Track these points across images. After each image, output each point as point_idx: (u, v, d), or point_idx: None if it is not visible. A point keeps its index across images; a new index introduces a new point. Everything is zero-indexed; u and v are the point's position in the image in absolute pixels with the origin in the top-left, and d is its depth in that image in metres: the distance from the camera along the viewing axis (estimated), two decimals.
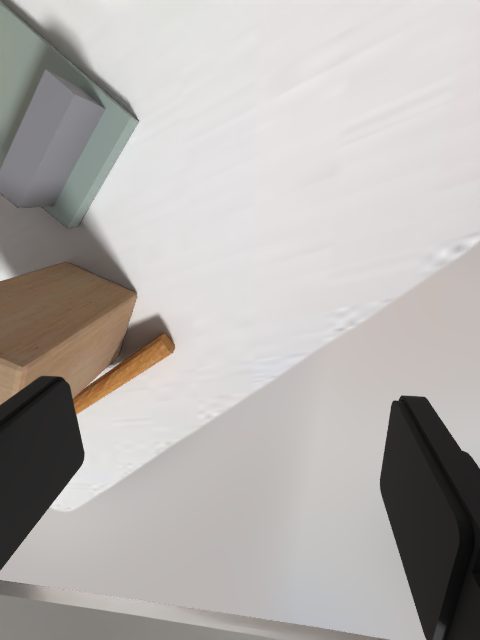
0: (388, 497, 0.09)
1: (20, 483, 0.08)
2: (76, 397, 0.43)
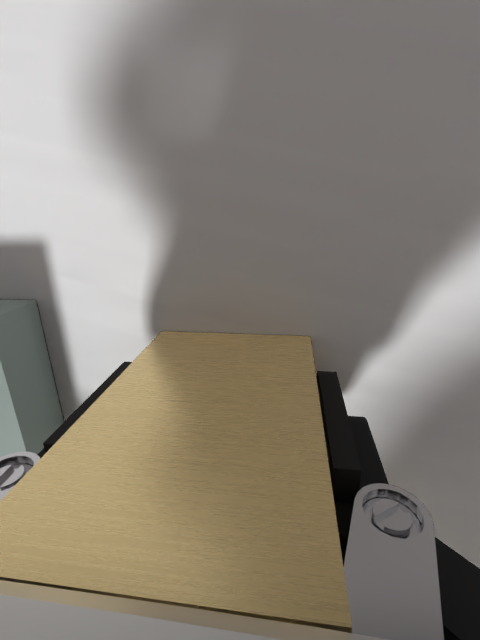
0: None
1: None
2: None
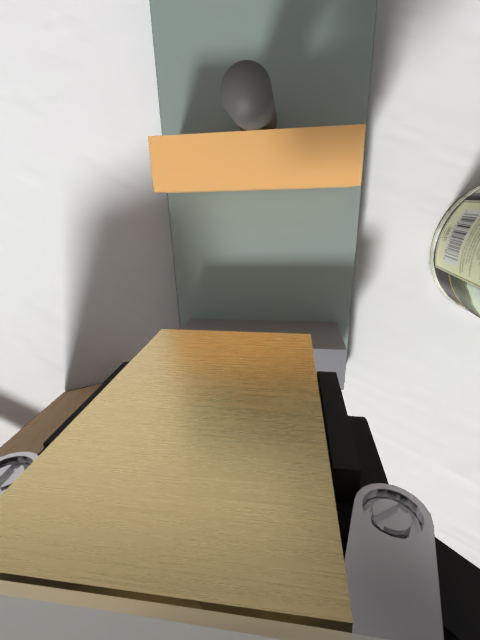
0: None
1: None
2: None
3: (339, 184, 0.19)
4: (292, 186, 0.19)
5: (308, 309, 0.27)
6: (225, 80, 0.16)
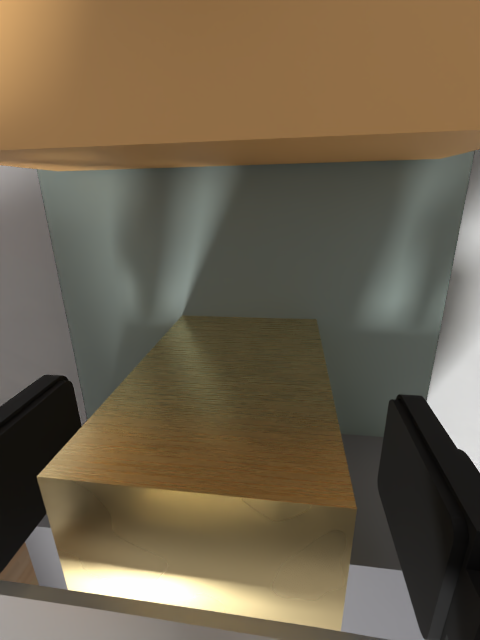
0: (385, 495, 0.09)
1: (24, 482, 0.08)
2: None
3: None
4: (324, 132, 0.06)
5: None
6: None
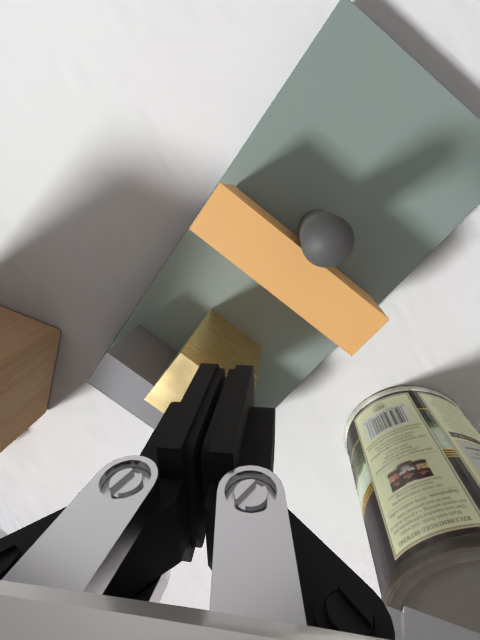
0: None
1: None
2: None
3: (337, 343, 0.20)
4: (303, 317, 0.20)
5: None
6: (318, 220, 0.15)
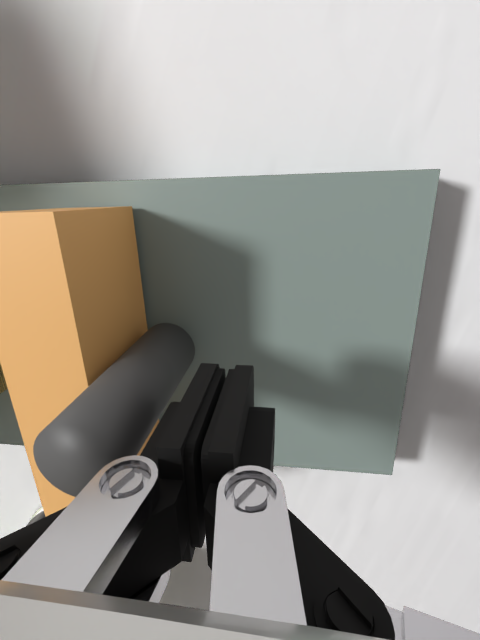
0: None
1: None
2: None
3: (43, 502, 0.13)
4: (26, 449, 0.12)
5: None
6: (87, 434, 0.08)
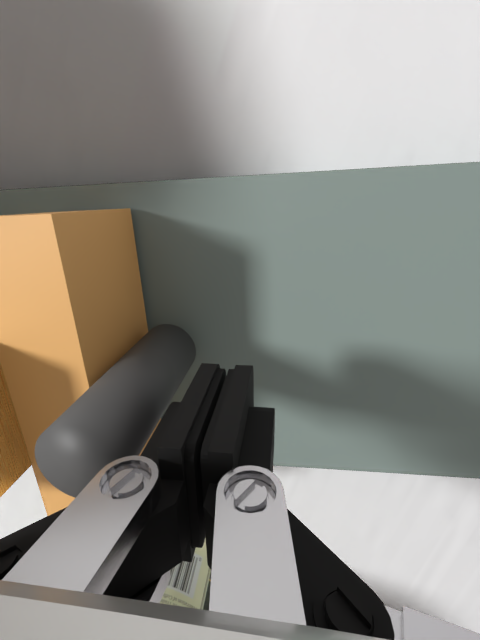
0: None
1: None
2: None
3: (47, 506, 0.13)
4: (29, 453, 0.13)
5: None
6: (88, 435, 0.08)
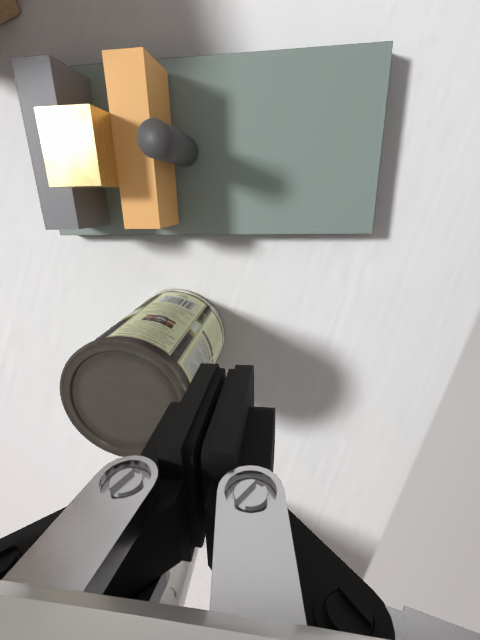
0: None
1: None
2: None
3: (123, 214, 0.27)
4: (118, 179, 0.26)
5: (116, 199, 0.32)
6: (159, 122, 0.22)
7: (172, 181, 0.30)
